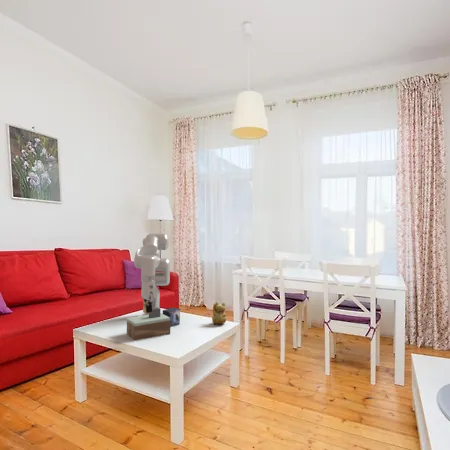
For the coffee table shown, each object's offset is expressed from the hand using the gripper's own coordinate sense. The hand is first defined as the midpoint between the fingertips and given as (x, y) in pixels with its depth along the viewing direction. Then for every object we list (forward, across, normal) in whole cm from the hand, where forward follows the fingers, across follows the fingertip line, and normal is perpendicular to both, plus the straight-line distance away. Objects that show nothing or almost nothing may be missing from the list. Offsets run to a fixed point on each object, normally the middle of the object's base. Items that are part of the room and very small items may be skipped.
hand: (147, 311), depth 180 cm
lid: (+9, +14, -6) cm, 18 cm away
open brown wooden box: (+17, +13, -6) cm, 23 cm away
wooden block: (+1, 0, 0) cm, 1 cm away
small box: (+17, +22, -25) cm, 38 cm away
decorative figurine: (+17, +7, -53) cm, 56 cm away
